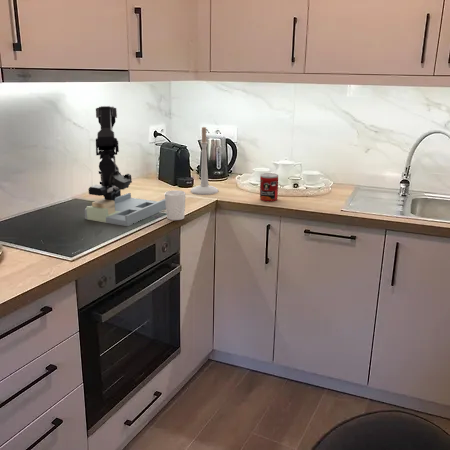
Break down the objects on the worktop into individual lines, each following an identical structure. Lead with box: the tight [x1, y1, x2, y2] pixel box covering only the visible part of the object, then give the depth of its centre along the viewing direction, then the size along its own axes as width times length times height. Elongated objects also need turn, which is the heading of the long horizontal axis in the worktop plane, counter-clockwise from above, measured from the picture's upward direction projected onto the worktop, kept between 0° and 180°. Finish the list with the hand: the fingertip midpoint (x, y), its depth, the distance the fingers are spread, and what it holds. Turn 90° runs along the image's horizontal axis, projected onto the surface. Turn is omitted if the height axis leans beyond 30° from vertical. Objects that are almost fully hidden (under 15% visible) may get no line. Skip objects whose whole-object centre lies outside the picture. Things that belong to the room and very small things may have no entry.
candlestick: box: [190, 126, 219, 196], centre depth 232 cm, size 13×13×30 cm
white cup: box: [164, 189, 186, 221], centre depth 195 cm, size 8×8×10 cm
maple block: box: [91, 198, 115, 215], centre depth 195 cm, size 6×6×4 cm
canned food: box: [259, 172, 279, 202], centre depth 221 cm, size 8×8×11 cm
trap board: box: [84, 192, 166, 227], centre depth 202 cm, size 20×28×5 cm
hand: (111, 207), depth 199 cm, fingers closed
